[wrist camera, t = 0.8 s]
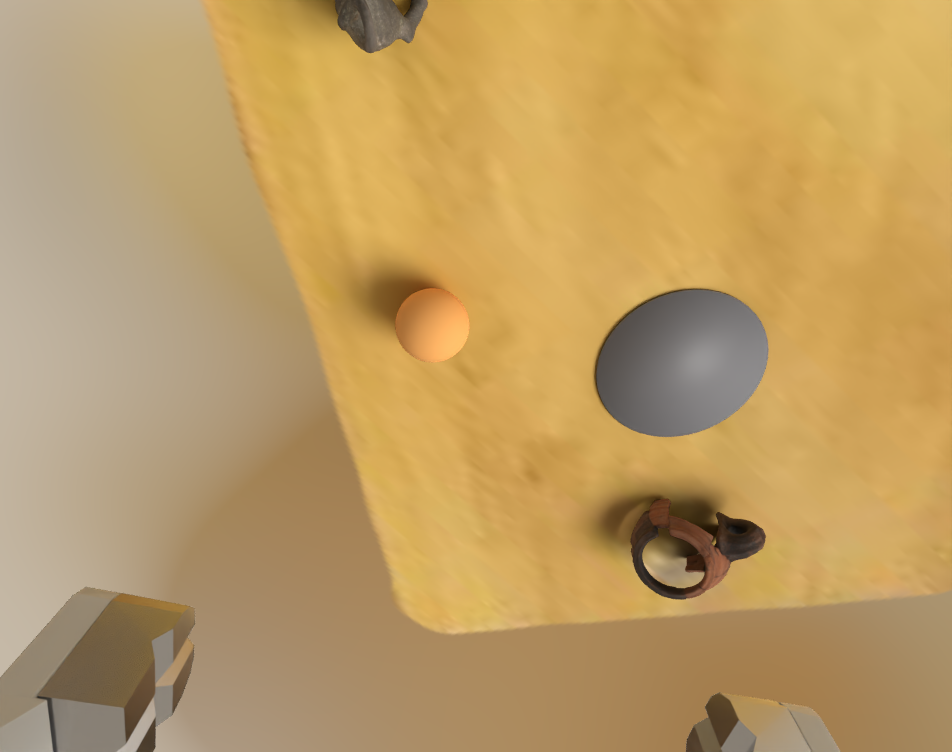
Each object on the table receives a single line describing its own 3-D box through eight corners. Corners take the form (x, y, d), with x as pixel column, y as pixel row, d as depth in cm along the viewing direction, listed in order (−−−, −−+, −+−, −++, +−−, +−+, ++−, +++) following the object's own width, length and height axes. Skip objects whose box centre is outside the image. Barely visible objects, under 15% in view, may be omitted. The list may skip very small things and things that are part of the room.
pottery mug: (667, 571, 60) (651, 619, 53) (625, 494, 60) (605, 531, 53) (783, 545, 53) (783, 595, 46) (737, 458, 53) (730, 496, 46)
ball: (407, 269, 42) (398, 297, 37) (477, 286, 43) (477, 316, 38) (394, 333, 45) (384, 366, 40) (460, 348, 45) (458, 382, 41)
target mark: (634, 270, 42) (635, 271, 42) (800, 312, 44) (801, 313, 44) (573, 417, 49) (573, 418, 49) (718, 448, 51) (719, 450, 50)
